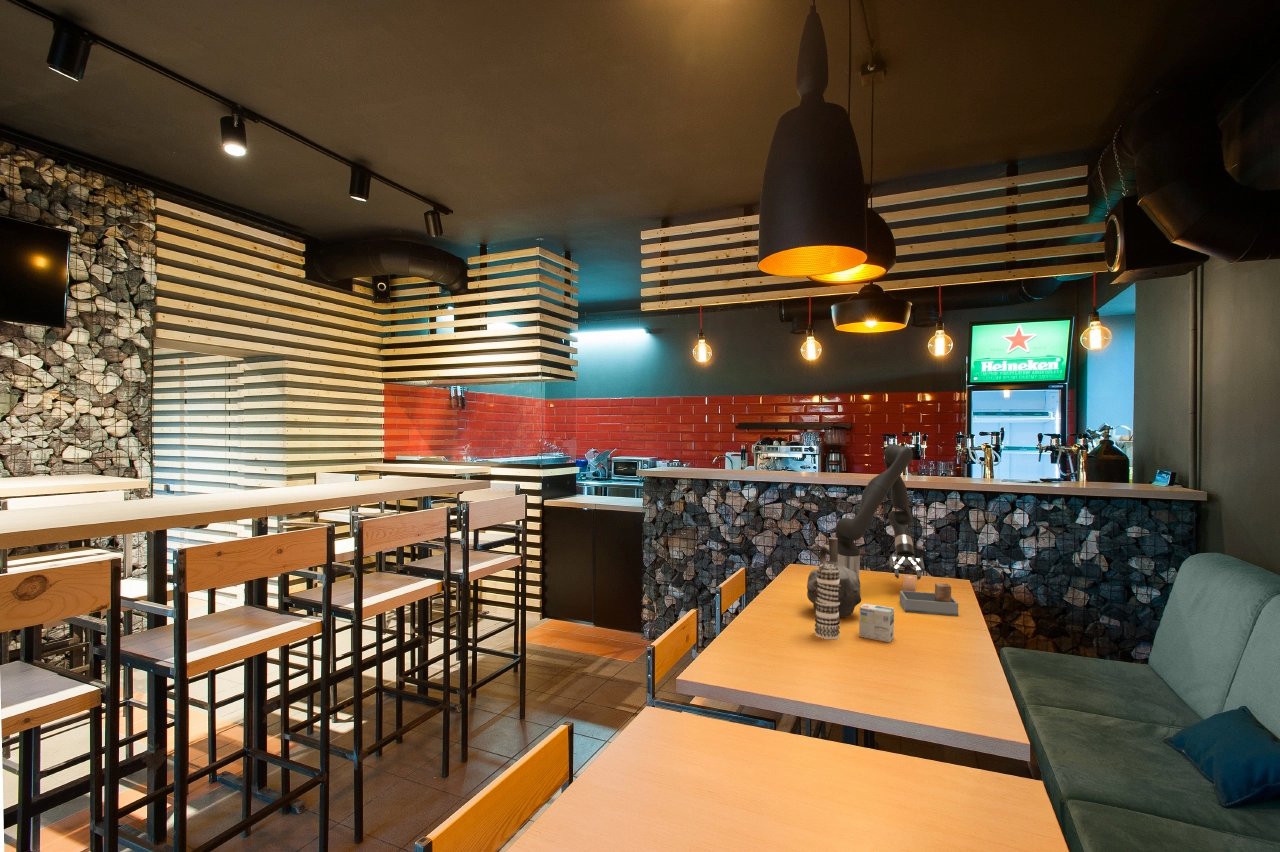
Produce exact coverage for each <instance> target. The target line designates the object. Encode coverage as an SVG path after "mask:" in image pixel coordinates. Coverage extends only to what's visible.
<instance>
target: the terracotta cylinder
mask: <svg viewBox="0 0 1280 852" xmlns="http://www.w3.org/2000/svg"><path fill="white" fill-rule="evenodd" d="M902 577H903V578H902V579H903V580H902V582H903V583H902V591H913V592H917V591H916V588H917V587H916V585H917V584H916V583H917V576H916V575H911V574H904V575H903V576H902Z"/></svg>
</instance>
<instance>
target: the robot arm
mask: <svg viewBox="0 0 1280 852" xmlns="http://www.w3.org/2000/svg"><path fill="white" fill-rule="evenodd" d="M883 455H884V456H883V457H884V462H885V468H886V470H884V471H883V472H881V473H880V474H878V475H876V476H874V477H873V478H872V479H870V480H869V482H868V483H867V485H866V486H865V488H864V490H863V491H862V494H861V502H860V508H859V510H858V511H857V513H856V515H855V516H854V517H853V518H850V517H842V518H840V519H839V520H837V523H836V525H835V538H838V545H837V561H838V563H839V565H841V566H844V567H846V568H848V569H849V570H851V571H853V572H855V573H856V574H857V576H858V577H859V578H860V566H861V565H860V559H861V558H860V554H861V550H860V548H859V547H858V546H857V545H856V543H855V541H858V540H860V539H861V538H862V537H863V536H864V534H865V533H866V530H867V528H868V526H869V525H870V523H871V520H872V519H873V517H874V515H875V514H876V512H877V510H878V509H879V507H880V506H881V504H882V503H883V501H884V500H885V498H886V497H887V495H888V493H889V491H890V493H891V505H892V506H893V507H894V508H897V509H901V510H891V511H890V512H889V513H888V515H887V516H888V521H889V523H890V525H891V527H892V530H893V534H894V548H895V554H896V556H893V555H889V559H888V560H889V561H888V562H889V570H890V571H894V577H895V578H896V579H899V578H900V572H899V569H901V567H902V568H909V569H910V568H911V569H912V570H914V571H915V573H916V581H917V580H918V581H919V580H920V579H921V578H922V574H921V572H922V573H923V572H925V568H926V567H925V564H924V559H923V557H919V558H916V556H915V551H914V543H913V540H912V533H911V529H910V528H909V527H908V526H910V525H912V523H913V521H914V518H913V514H912V512H911V509H910V507H909V501H908V500H909V498H908V496H909V495H908V489H907V486H906V485H907V484H905V481H904V480H903V478H902V476H901V475H902V474H903V472H904V471H905V470H906V469H907V468H908V466H909V465H910V463H911V462H912V459H913V455H914V454H913V450H912V448H911V447H909V446H904V445H900V444H893V443H891V444H888V445H887V446H886V447H885V449H884V452H883ZM895 561H896V562H897V563H896V565H895V566H894V562H895ZM917 563H918V564H917Z"/></svg>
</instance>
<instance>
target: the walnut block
mask: <svg viewBox="0 0 1280 852" xmlns="http://www.w3.org/2000/svg"><path fill="white" fill-rule="evenodd" d="M934 593H935V601H937V602H950V603H951V596H952V586H951V585H950V584H949V583H943V582H942V583H941V582H934Z"/></svg>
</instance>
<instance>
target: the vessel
mask: <svg viewBox="0 0 1280 852" xmlns="http://www.w3.org/2000/svg"><path fill="white" fill-rule="evenodd" d="M837 545H838V538H836V537H828V544H823V545H822V546H821V548H820V551H819V566H820V565H821V564H832V565H835V566H837V568H838V569H839V570H840V571H839V579H840V581H839V584H840V585H841V587H840V588H838V589H840V590H841V592H838V594H839V595H840V596H841V597H840V598H839V599H840V600H841V601H840V605H839V609H838V611H839V617H840V618H845V617H849V616H851V615H853V613H854V611H855V608H856V606H858V605H859V604H861V602H862V596H861V580H860V576H859V577H858V576H857V574H856V573H855V572H853V571H851V570H849V569H848V568H846V567H844V566H841V565H839V563H838V549H837ZM827 554H828V555H829V560H828V561H827ZM816 581H817V568H816V569H812V570H811V571H810V573H809V575H808V578H807V583H806V584H807V585H806V588H807V593H806V595H807V599H808V600H809V602H811V603H812V604H813V610H814V611H815V612H816V609H817V603H816V600H815V598H816V597H817V596H816V595H815V592H816V591H815V588H816V586H815V582H816ZM817 585H818V584H817Z"/></svg>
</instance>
